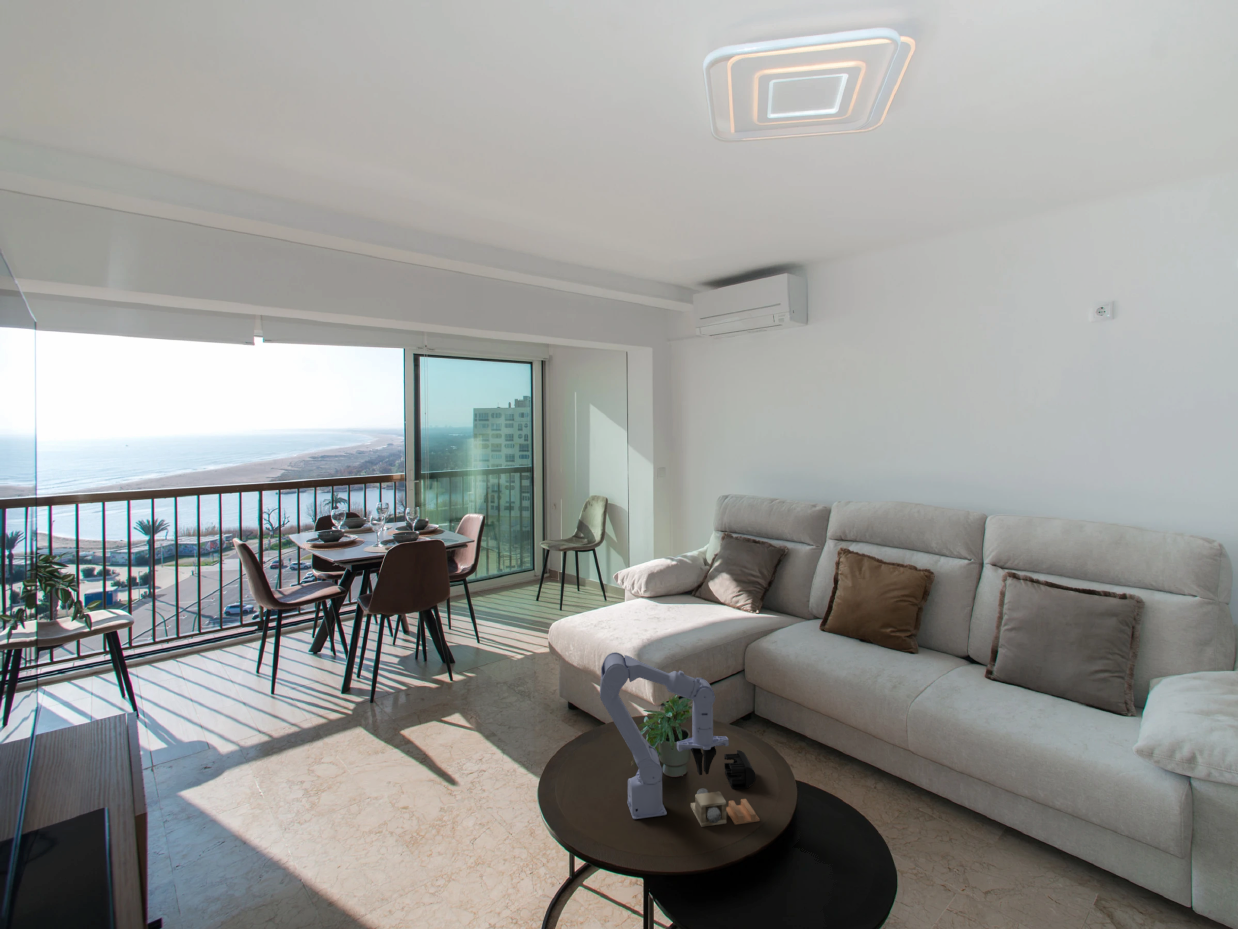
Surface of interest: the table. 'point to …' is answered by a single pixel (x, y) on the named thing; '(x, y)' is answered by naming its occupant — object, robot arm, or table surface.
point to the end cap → (739, 771)
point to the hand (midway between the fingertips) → (702, 772)
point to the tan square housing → (706, 801)
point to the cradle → (741, 812)
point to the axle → (711, 809)
